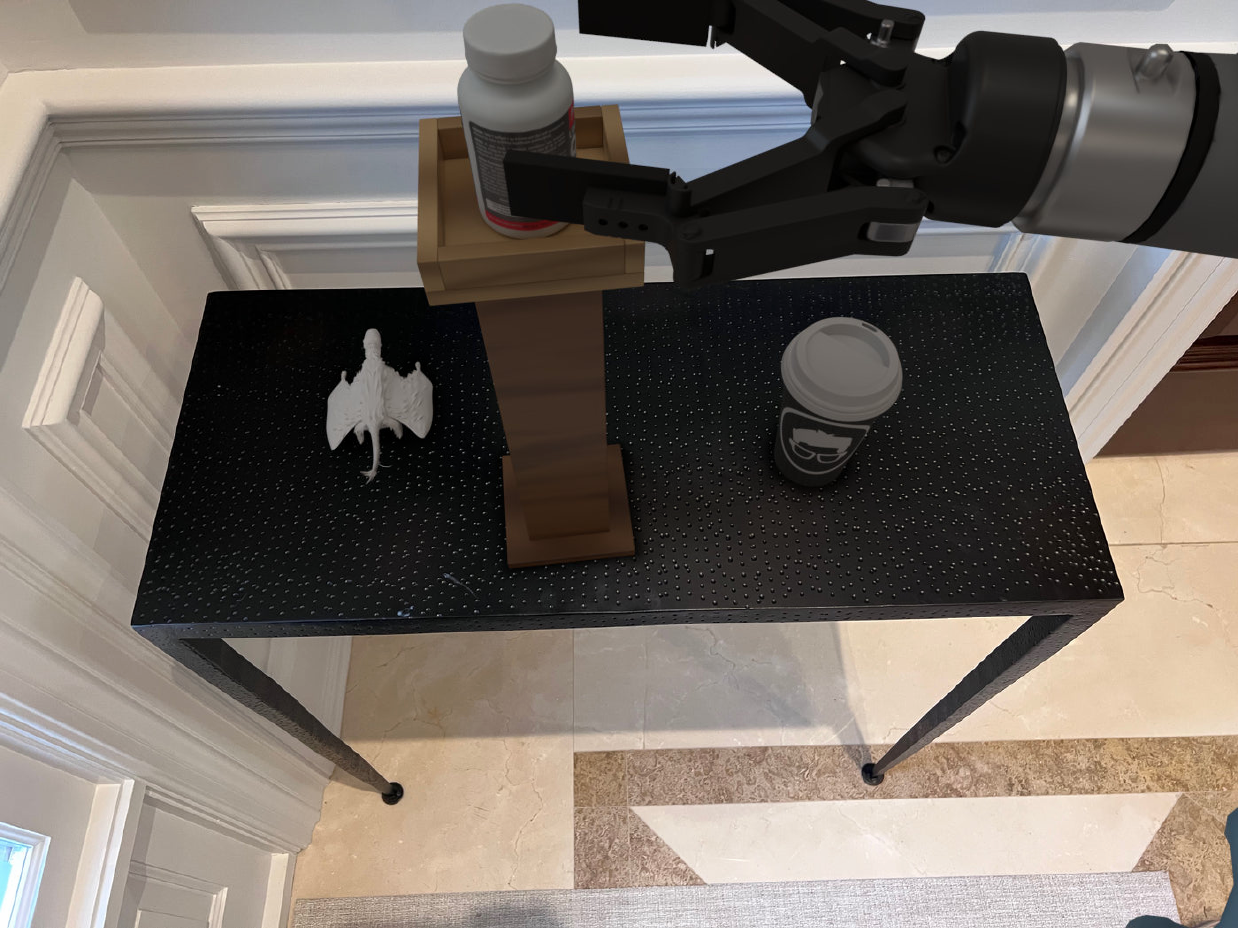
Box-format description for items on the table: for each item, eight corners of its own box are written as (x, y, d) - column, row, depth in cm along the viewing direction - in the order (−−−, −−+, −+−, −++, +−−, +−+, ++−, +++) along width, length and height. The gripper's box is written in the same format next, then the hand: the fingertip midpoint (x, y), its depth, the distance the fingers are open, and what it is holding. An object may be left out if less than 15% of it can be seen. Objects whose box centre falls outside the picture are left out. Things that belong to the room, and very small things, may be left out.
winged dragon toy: (438, 494, 72) (428, 471, 69) (325, 509, 71) (309, 487, 68) (431, 343, 81) (422, 316, 78) (331, 355, 81) (317, 328, 77)
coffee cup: (881, 472, 73) (936, 372, 60) (798, 518, 71) (837, 425, 58) (818, 400, 77) (856, 292, 65) (737, 441, 75) (761, 338, 62)
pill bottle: (599, 216, 42) (594, 36, 34) (512, 257, 40) (484, 79, 32) (545, 161, 44) (528, -20, 36) (461, 199, 43) (422, 18, 34)
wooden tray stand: (635, 554, 69) (645, 242, 38) (509, 569, 68) (416, 263, 37) (619, 449, 75) (618, 103, 44) (503, 461, 74) (418, 118, 43)
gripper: (1047, -101, 37) (600, -138, 39) (1122, 289, 24) (451, 203, 26) (983, 54, 43) (603, 15, 45) (1016, 427, 30) (485, 349, 33)
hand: (546, 84), depth 36 cm, fingers open, 13 cm apart
